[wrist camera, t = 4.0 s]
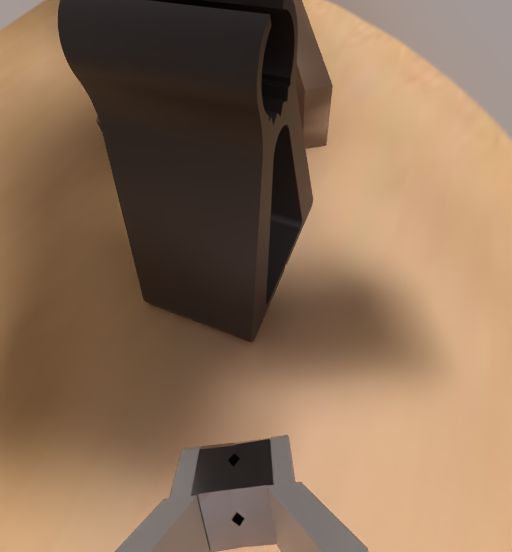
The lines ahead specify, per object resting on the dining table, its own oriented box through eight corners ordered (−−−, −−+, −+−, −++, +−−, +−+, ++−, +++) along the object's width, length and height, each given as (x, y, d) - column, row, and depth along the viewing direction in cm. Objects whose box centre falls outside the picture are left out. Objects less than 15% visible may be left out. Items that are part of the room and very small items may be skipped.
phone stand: (221, 180, 22) (156, -84, 12) (313, 204, 20) (336, -76, 10) (145, 303, 18) (-50, 78, 8) (251, 344, 17) (184, 132, 6)
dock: (126, 175, 23) (93, 115, 19) (137, 57, 29) (114, -5, 26) (326, 145, 23) (333, 78, 19) (292, 33, 29) (292, -34, 25)
